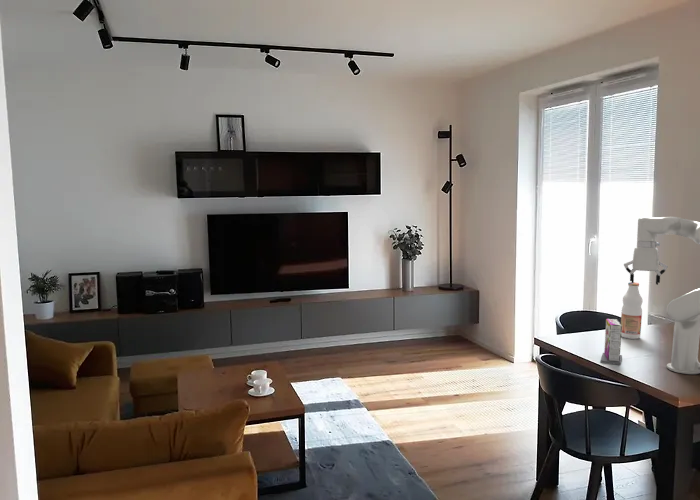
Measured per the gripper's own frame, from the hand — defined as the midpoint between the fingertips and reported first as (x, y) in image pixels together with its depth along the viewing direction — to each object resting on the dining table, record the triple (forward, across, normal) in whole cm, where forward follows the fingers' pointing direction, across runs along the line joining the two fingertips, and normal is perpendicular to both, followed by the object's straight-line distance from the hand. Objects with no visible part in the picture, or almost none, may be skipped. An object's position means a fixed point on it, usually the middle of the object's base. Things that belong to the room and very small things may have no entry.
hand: (644, 283), depth 257 cm
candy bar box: (+33, +12, +7) cm, 36 cm away
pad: (+34, +12, +7) cm, 37 cm away
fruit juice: (+34, +4, -41) cm, 53 cm away
